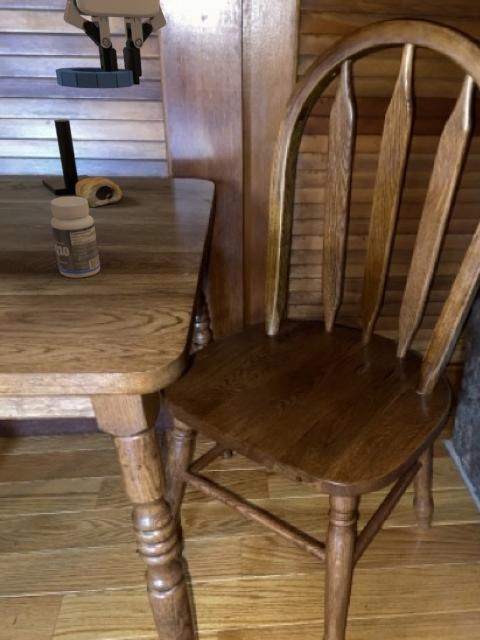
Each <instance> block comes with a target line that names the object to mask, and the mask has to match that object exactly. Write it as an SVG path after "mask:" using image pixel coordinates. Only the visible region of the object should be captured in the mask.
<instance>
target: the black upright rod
mask: <svg viewBox="0 0 480 640" xmlns="http://www.w3.org/2000/svg"><path fill="white" fill-rule="evenodd" d="M54 127H55V133H56V141H57V145H58V151H59V159H60V164H61V165H60V166H61V170H62V177H52V178H42V179H41V181H42V182H41V183H42V185H43V186H44V187H45V188H46V189H47V190H48V191H50V192H51V193H53V195H54V196H63V195H65V196H66V195H72V194H76V183H77V182H79V181H81V180H83V179H86V178H92V177H91V176H89V175H88V174H82V175H78V174H79V173H78V168H77V161H76V155H75V148H74V141H73V134H72V128H71V122H70V119H67V118H65V119H63V118H59V119H54Z"/></svg>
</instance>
